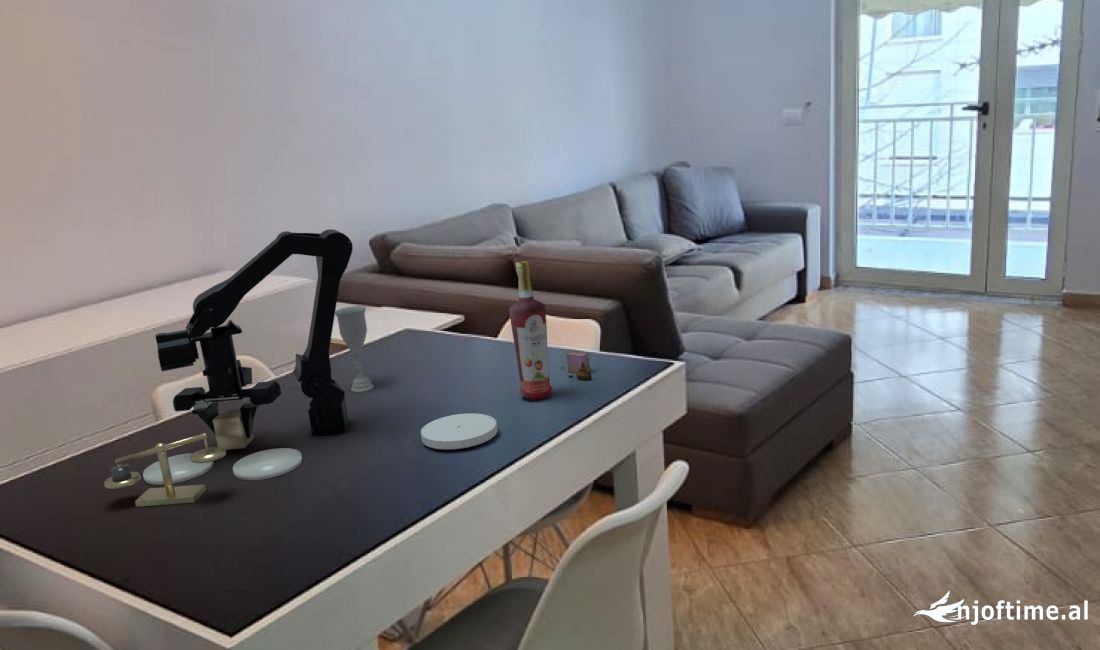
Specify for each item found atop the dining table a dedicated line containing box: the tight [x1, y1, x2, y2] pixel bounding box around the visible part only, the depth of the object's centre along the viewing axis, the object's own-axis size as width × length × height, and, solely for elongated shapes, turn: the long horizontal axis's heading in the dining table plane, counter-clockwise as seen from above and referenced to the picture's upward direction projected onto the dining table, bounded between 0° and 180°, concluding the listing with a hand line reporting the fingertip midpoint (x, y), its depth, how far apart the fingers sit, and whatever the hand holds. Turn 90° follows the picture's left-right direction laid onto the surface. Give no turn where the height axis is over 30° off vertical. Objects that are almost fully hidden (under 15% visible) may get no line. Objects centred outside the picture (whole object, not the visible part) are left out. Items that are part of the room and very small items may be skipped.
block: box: [213, 408, 255, 450], centre depth 175 cm, size 5×5×6 cm
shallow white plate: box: [232, 447, 303, 482], centre depth 167 cm, size 12×12×1 cm
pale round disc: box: [142, 452, 215, 486], centre depth 169 cm, size 12×12×1 cm
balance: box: [103, 433, 227, 507], centre depth 156 cm, size 21×6×11 cm, turn 87°
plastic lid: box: [420, 413, 498, 450], centre depth 171 cm, size 14×14×2 cm
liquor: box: [508, 260, 554, 401], centre depth 186 cm, size 7×7×28 cm
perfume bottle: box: [566, 350, 592, 381], centre depth 201 cm, size 12×12×4 cm
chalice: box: [335, 305, 374, 393], centre depth 205 cm, size 7×7×18 cm
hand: (235, 438), depth 176 cm, fingers closed on block, 5 cm apart
